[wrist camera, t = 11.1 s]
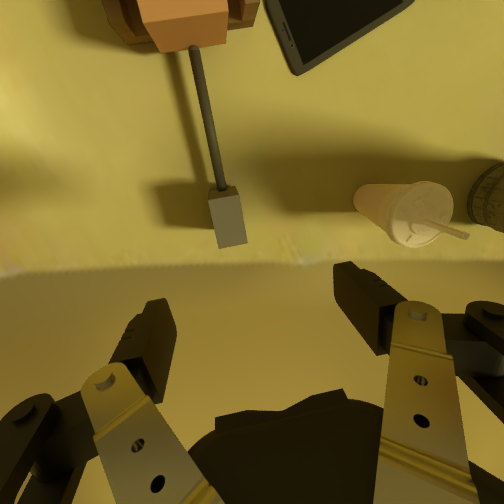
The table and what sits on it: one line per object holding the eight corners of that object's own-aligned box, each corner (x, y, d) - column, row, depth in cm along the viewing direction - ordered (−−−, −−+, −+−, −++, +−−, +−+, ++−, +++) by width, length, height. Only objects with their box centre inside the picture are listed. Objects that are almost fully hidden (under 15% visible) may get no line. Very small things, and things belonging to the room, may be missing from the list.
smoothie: (355, 231, 34) (439, 281, 21) (334, 192, 32) (414, 223, 19) (397, 203, 33) (509, 238, 21) (379, 161, 31) (494, 171, 18)
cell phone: (413, 4, 26) (419, 0, 25) (293, 80, 27) (295, 78, 26) (393, -90, 23) (399, -98, 22) (260, -1, 24) (262, -5, 23)
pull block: (138, -44, 21) (103, -130, 15) (209, -53, 22) (205, -141, 15) (206, 233, 31) (203, 256, 24) (254, 224, 31) (263, 244, 25)
